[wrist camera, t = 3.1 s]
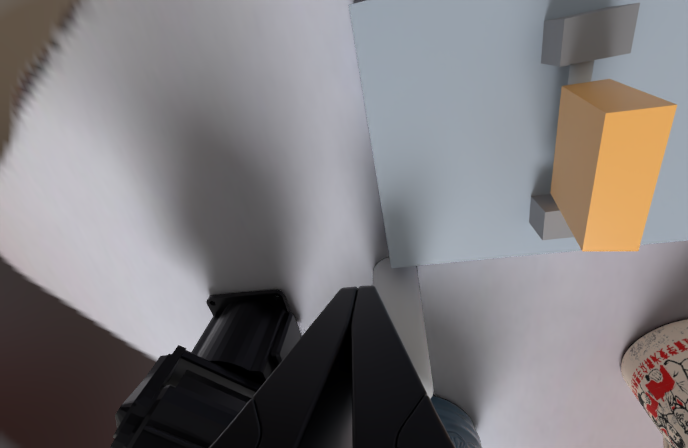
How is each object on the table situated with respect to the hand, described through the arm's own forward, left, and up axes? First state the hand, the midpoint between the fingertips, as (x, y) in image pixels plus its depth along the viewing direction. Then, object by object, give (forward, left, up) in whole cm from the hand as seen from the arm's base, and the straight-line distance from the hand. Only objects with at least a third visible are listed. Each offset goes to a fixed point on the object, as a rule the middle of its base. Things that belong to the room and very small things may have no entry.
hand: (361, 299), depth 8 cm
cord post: (0, -10, -13) cm, 16 cm away
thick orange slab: (+9, 0, -10) cm, 13 cm away
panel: (+9, 0, -13) cm, 16 cm away
